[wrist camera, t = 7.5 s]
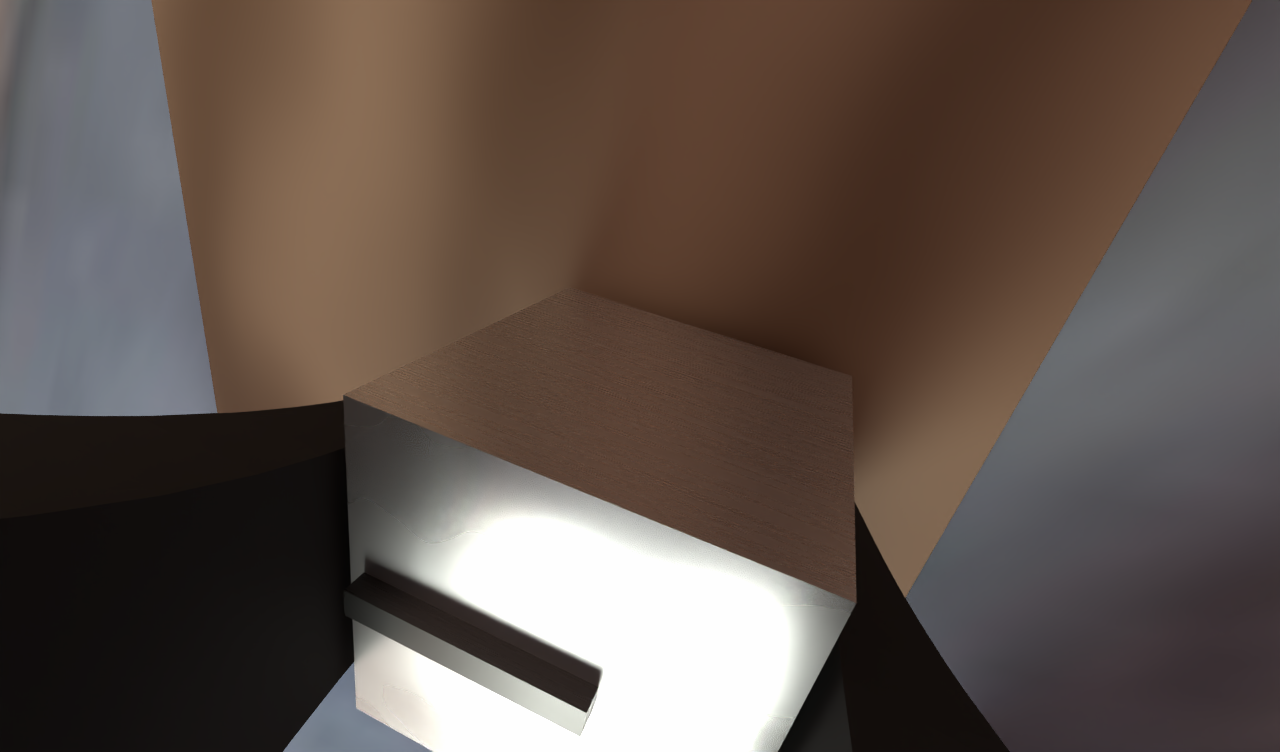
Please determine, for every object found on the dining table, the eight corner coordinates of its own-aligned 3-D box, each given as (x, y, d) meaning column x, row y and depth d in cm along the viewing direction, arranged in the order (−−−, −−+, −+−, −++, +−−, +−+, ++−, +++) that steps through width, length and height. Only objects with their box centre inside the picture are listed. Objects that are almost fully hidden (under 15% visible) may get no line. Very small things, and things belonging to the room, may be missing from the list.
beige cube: (851, 376, 9) (857, 632, 4) (759, 598, 11) (692, 932, 6) (569, 286, 10) (317, 407, 5) (536, 504, 12) (339, 727, 7)
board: (1344, -271, 6) (2999, -1692, 1) (842, 652, 13) (838, 938, 8) (185, -323, 10) (-400, -744, 5) (267, 406, 17) (42, 504, 12)
